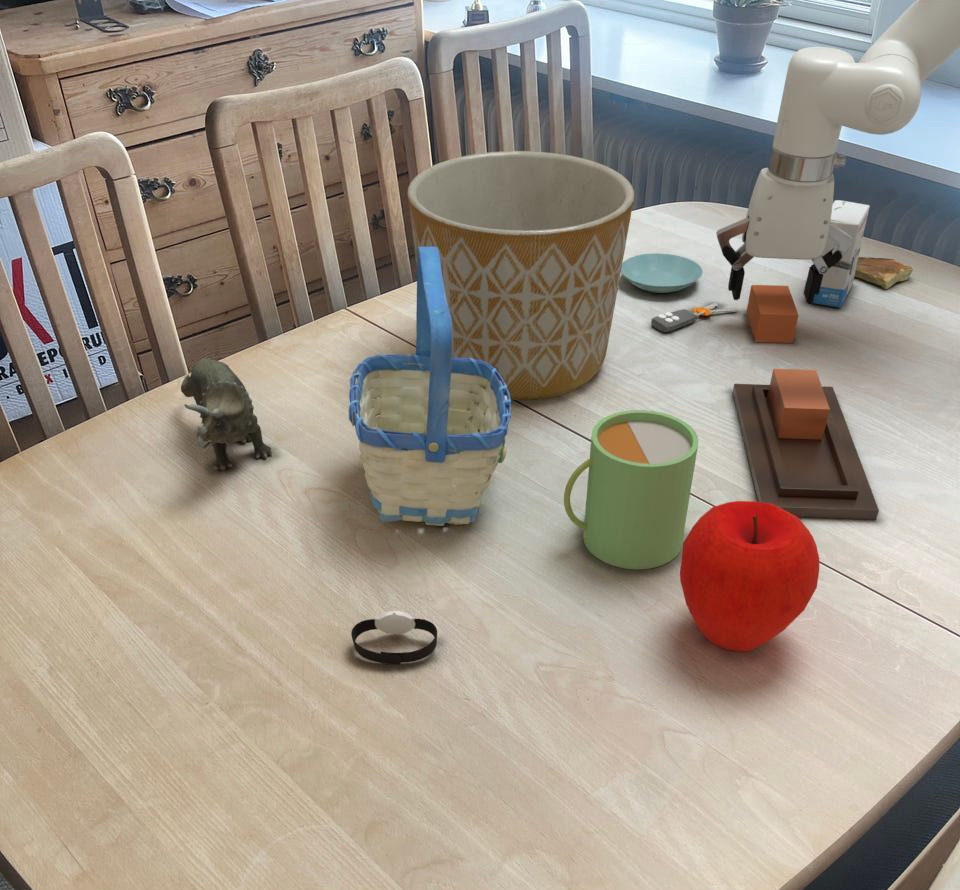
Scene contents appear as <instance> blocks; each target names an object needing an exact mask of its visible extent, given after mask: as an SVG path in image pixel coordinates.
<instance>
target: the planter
mask: <svg viewBox="0 0 960 890" xmlns="http://www.w3.org/2000/svg"><path fill="white" fill-rule="evenodd" d="M634 198H635V191H634V188H633V185H632V184H631V182H630V181H629V180H628V179H627V178H626V177H625V176H624V175H622V174H621V173H620V172H618V171H617V170H614V169H613V168H611V167H609V166H607V165H604V164H602V163H600V162H597V161H593V160H590V159H587V158H583V157H579V156H574V155H569V154H564V153H563V154H562V153H555V152H547V151H536V150H535V151H532V150H505V151H504V150H503V151H502V150H501V151H489V152H480V153H474V154H468V155H467V154H466V155H463V156H462V155H461V156H459V157H455V158H451V159H447V160H444V161H442V162H441V161H440V162H439V163H437V164H433V165H431V166H430V167H427V168H426V169H424V170H422V171H421V172H420V173H418V174H416V176H415V177H414V178H413V179H412V180H411V181H410V183H409V185H408V188H407V200H408V208H409V216H410V217H409V218H410V224H411V231H412V240H413V249H414V256H415V264H416V266H417V251H418V247H437V248H438V252H439V257H440V264H441V270H442V277H443V284H444V290H445V295H446V299H447V304H448V308H449V311H450V315H451V319H452V333H453V348H452V357H454V358H472V359H474V360H481V361H484V362H486V363H488V364H490V365H491V366H492V367H493V368H496V370H497V372H498V373H499V374H500V375H501V377H502V378H503V380H504V382H505V384H506V385H507V389H508V392H509V393H510V399H511V401H533V400H541V399H549V398H552V397H557V396H560V395H564V394H566V393H569V392H572V391H573V390H575V389H577V388H580V387H581V386H583V385H584V384H586V383H587V382H589V381H590V380H591V379H593V377H594V376H596V374H597V373H598V371H599V370H600V369H601V367H602V366H603V364H604V362H605V359H606V356H607V352H608V346H609V342H610V341H609V340H610V335H611V329H612V324H613V318H614V312H615V308H616V307H615V306H616V301H617V296H618V290H619V285H620V279H621V275H622V273H621V268H622V263H623V262H624V255H625V251H626V245H627V239H628V233H629V228H630V223H631V217H632V211H633V206H634V200H635V199H634ZM480 377H481V376H480ZM480 386H481V385H480ZM481 387H483V386H481ZM485 388H486V387H483V389H485ZM470 393H473V392H470ZM475 394H476V393H475ZM477 395H478V394H477Z"/></svg>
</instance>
